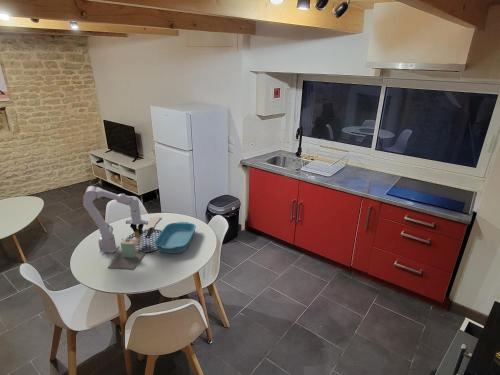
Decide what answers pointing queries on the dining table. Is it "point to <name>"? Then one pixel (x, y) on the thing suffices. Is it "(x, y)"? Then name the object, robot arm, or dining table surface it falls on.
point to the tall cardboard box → (136, 237)
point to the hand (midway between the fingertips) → (138, 233)
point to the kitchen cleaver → (152, 224)
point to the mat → (126, 262)
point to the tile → (128, 249)
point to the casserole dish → (175, 237)
